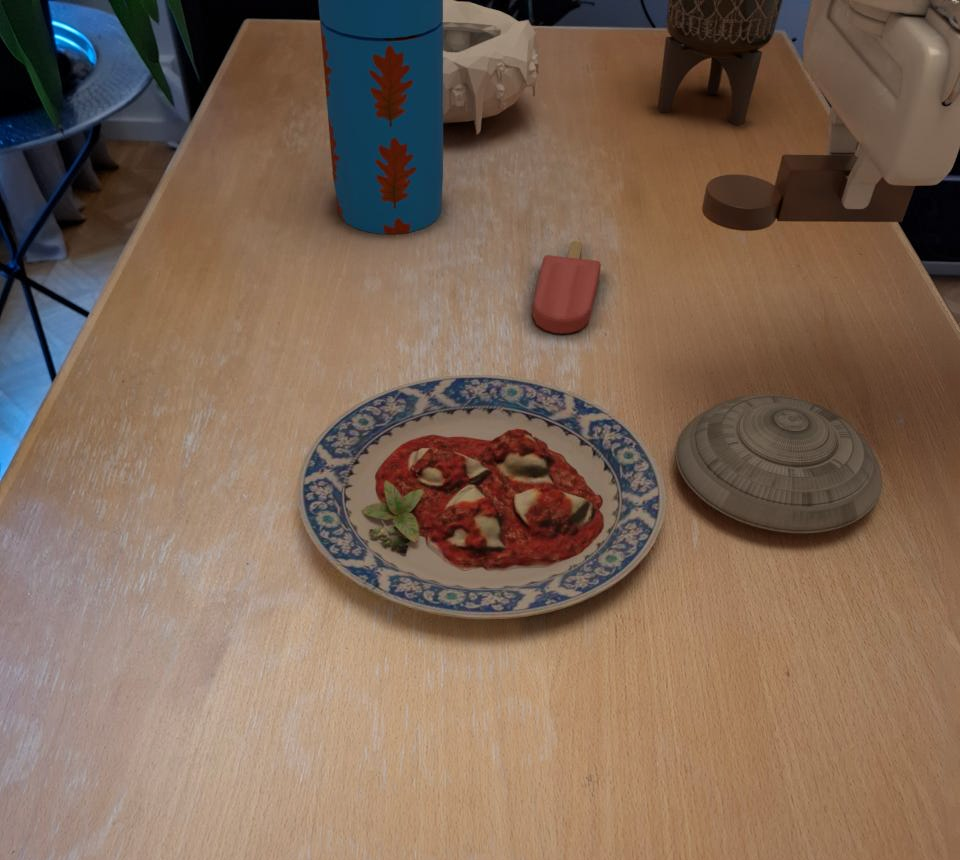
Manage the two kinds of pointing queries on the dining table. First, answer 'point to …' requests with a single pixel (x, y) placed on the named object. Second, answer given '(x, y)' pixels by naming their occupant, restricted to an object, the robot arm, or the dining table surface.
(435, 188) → the thermos
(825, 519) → the flying saucer
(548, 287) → the popsicle
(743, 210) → the brown cylinder and block
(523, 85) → the bowl
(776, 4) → the planter
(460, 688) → the dining table surface
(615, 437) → the ceramic plate
